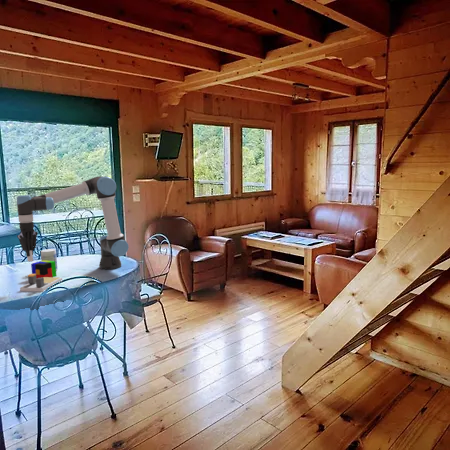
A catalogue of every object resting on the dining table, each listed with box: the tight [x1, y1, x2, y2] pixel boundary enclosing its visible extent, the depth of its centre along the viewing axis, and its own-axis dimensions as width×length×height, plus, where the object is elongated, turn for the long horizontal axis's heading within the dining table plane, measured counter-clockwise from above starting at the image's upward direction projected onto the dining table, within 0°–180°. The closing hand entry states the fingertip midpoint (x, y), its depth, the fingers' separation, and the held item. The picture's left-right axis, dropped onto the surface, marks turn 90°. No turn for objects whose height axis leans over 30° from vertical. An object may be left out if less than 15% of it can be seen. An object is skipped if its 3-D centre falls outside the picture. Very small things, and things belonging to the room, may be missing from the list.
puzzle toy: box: [30, 260, 57, 279], centre depth 249 cm, size 10×10×10 cm
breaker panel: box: [19, 276, 63, 292], centre depth 232 cm, size 14×21×2 cm, turn 174°
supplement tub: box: [40, 248, 58, 272], centre depth 264 cm, size 10×10×15 cm
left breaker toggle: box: [36, 278, 44, 287], centre depth 223 cm, size 3×3×4 cm
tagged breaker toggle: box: [27, 273, 36, 284], centre depth 229 cm, size 3×3×5 cm
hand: (30, 261), depth 228 cm, fingers closed
